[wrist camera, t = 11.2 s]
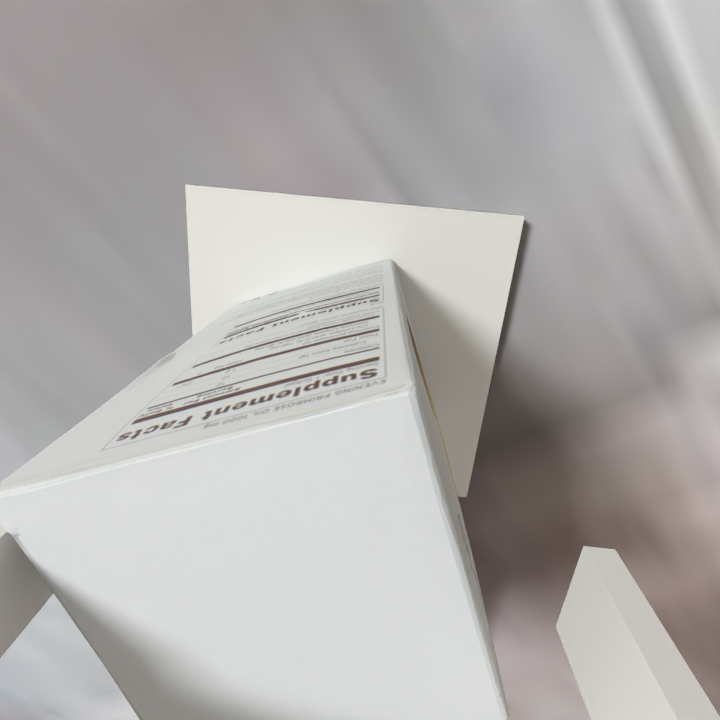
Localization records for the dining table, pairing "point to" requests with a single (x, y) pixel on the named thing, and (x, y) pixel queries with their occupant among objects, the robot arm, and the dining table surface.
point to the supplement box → (270, 522)
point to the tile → (361, 247)
